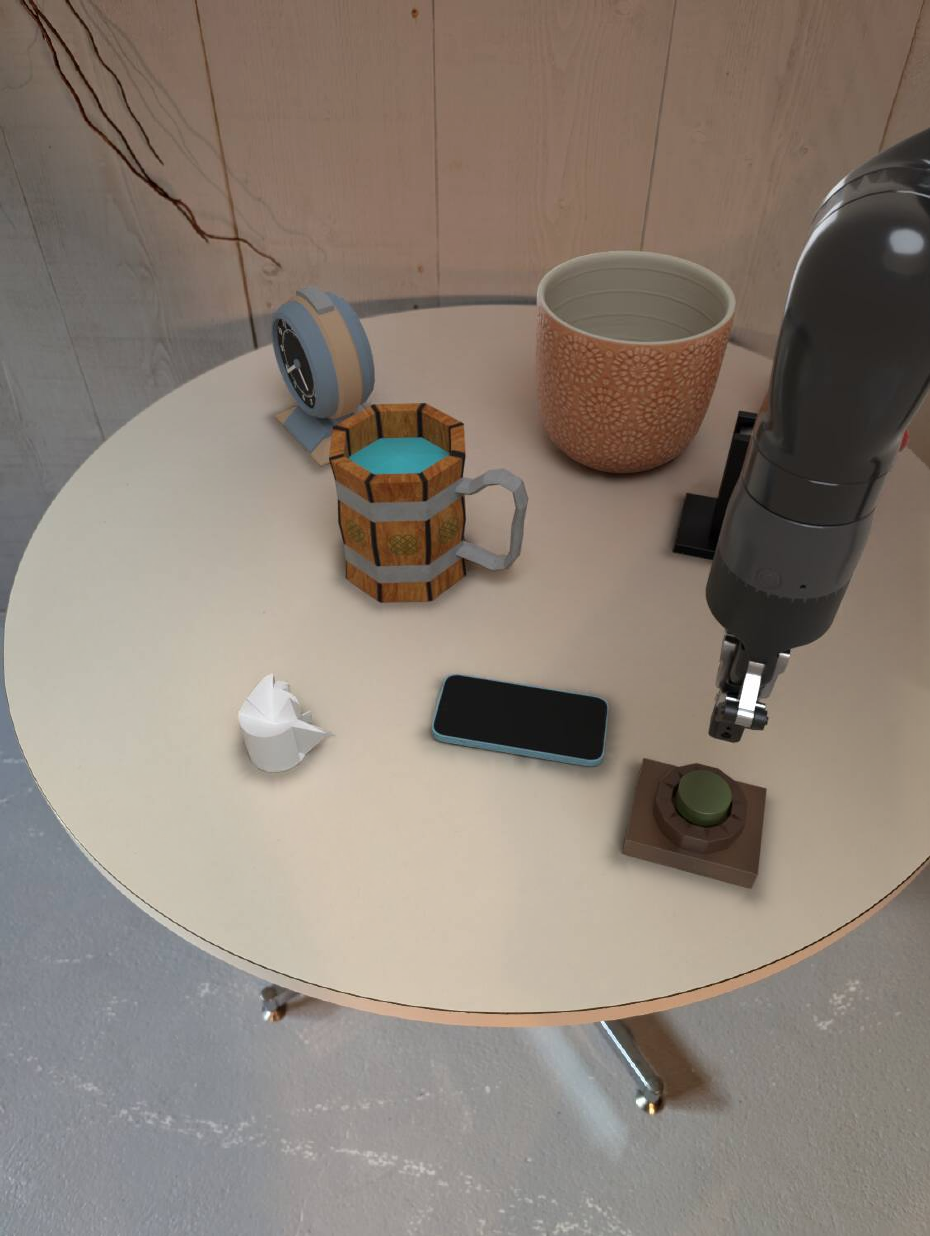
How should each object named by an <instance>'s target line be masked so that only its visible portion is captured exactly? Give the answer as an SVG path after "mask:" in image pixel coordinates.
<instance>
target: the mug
mask: <svg viewBox="0 0 930 1236" xmlns="http://www.w3.org/2000/svg"><path fill="white" fill-rule="evenodd" d="M465 435H466V434H465V423H464V422H463V421H460V420H458V419H456V418H455V417H452V416H451V415H449V414H447V413H445V412H443V411H442V410H440V409H438V408H436V407H434V406H432V405H430V404H428V403H426V402H416V403H415V402H414V403H413V402H412V403H410V402H409V403H375V404H371V405H369V406H367V407H366V408H365V409H364V410H362V411H360V412H358V413H356V414H355V415H353V416H351V417H349V418H348V419H346V420H344V421H342V422H340V423H339V424H337V425H335V426H333V429H332V437H331V446H330V454H329V462H330V463H329V465H330V469H331V472H332V475H333V478H334V483H335V489H336V490H335V491H336V497H337V522H338V527H339V531H340V535H341V539H342V543H343V550H344V557H345V579H346V580H347V581H349V582H350V583H351V584H352V585H354V586H355V587H357V588H358V589H360V590H361V591H363V592H364V593H366V594H367V595H369V596H370V597H371V598H373V599H374V600H376V601H377V602H379V603H407V602H408V603H412V602H415V603H416V602H432V601H433V600H435V599H436V598H438V597H439V596H440V595H442V594H443V593H444V592H445V591H447V590H449V589H450V588H451V587H452V586H454V585H455V584H456V583H458V582H459V581H461V580H462V579H463V578H465V577H466V576H467V560H468V561H470V562H473V563H475V564H477V565H480V566H481V567H484V568H486V569H488V570H491V571H508V570H509V569H510V568H511V567H512V566H513V565H514V563H516V561H517V559H518V558H519V557H520V555H521V552H522V546H523V539H524V532H525V531H524V530H525V529H524V528H525V520H526V515H527V509H528V503H529V495H528V493H527V490H526V489H527V488H526V486H525V482H524V480H523V478H521V477H519V476H518V475H516V474H515V473H513V472H511V471H509V470H508V469H506V468H499V469H488V470H486V471H485V472H484V473H482V474H480V475H479V476H477V477H475V478H470V477H464V472H465V466H466V465H465V464H466V457H467V454H466V437H465ZM499 485H500V486H501V487H503V488H504V489H506V490H508V491H510V492H511V493H512V496H513V502H514V506H515V508H514V513H513V515H512V516H513V517H512V520H511V526H510V538H509V539H510V540H509V551H508V552H507V554H500V555H497V554H495V553H494V552H492V551H490V550H488V549H486V548H484V547H481V546H478V545H476V544H473V543H470V542H468V541H466V540H465V530H466V522H467V515H466V514H467V512H466V510H467V509H466V496H473V495H475V494H476V495H477V494H478V493H480V492H481V491H483V490H484V489H486V488H487V487H491V486H499Z"/></svg>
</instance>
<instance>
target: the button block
mask: <svg viewBox="0 0 930 1236" xmlns="http://www.w3.org/2000/svg"><path fill="white" fill-rule="evenodd" d="M695 770H706V771H710V772H713V773H715V774H717V775H719V776H720V777H722V778H723V779H724V780H725V781H726V783H727V784H728V786H729V787H730V790H731V795H732V799H731V803H730V805H729V808H728V811H727V813H726V816H725V817H724V818H723V820H721V821H720V822H719V823H717V824H715V825H711V826H700V825H696V824H693V823H691V822H689V821H688V820H686V819H685V818H684V817H683V816H682V815H681V814H680V813H679V811H678V809H677V807H676V803H675V796H676V793H677V789H678V786H679V783H680V780H681V779H682V778H683V776H685V775H686V774H687V773H689V772H691V771H695ZM636 784H637V785H636V789H635V793H634V798H633V803H632V808H631V812H630V817H629V821H628V826H627V830H626V835H625V840H624V844H623V849H622V855H624V856H628V857H633V858H636V859H640V860H643V861H647V862H651V863H654V864H658V865H662V866H666V867H668V868H672V869H677V870H680V871H683V872H688V873H691V874H694V875H699V876H702V877H705V878H710V879H714V880H717V881H720V882H725V883H728V884H732V885H735V886H739V887H743V888H747V889H753V887H754V884H755V882H756V880H757V879H758V876H759V869H760V866H759V865H760V859H761V851H762V850H761V849H762V840H763V839H762V838H763V830H764V819H765V810H766V809H765V808H766V801H767V788H766V787H762V786H759V785H755V784H752V783H751V784H750V783H746V782H742V781H739V780H735V779H733V778H732V777H731V776H729V775H728V774H727V773H726V772H724V771H723V770H722V769H720V768H718V767H715V766H710V765H707V764H703V763H698V762H695V763H688V764H684V765H680V766H678V765H673V764H669V763H665V762H661V761H657V760H654V759H649V758H646V757H643V758H642V762H641V767H640V770H639V775H638V780H637V783H636Z"/></svg>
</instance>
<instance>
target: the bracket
mask: <svg viewBox="0 0 930 1236" xmlns="http://www.w3.org/2000/svg"><path fill="white" fill-rule="evenodd" d="M757 415H758V412H752V411H745V410H738V412H737V416H736V420H735V425H734V428H733V432H732V433H733V434H732V437H731V440H730V445H729V449H728V453H727V457H726V458H727V459H726V462H725V465H724V469H723V473H722V478H721V482H720V485H719V490H718V495H717V497H713V496H707V495H703V494H698V493H691V492H686V493H685V499H684V502H683V507H682V511H681V514H680V520H679V525H678V528H677V532H676V536H675V540H674V546H673V550H672V552H673V553H675V554H680V555H686V556H691V557H695V558H700V559H707V560H710V561H713V558H714V555H715V550H716V547H717V543H718V539H719V536H720V532H721V528H722V524H723V520H724V517H725V513H726V509H727V506H728V503H729V500H730V497H731V495H732V492H733V490H734V488H735V486H736V484H737V481H738V479H739V477H740V474H741V471H742V469H743V464H744V460H745V457H746V453H747V449H748V446H749V442H750V438H751V435H745V434H740V431H741V427H754V424H755V421H756V418H757Z"/></svg>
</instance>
